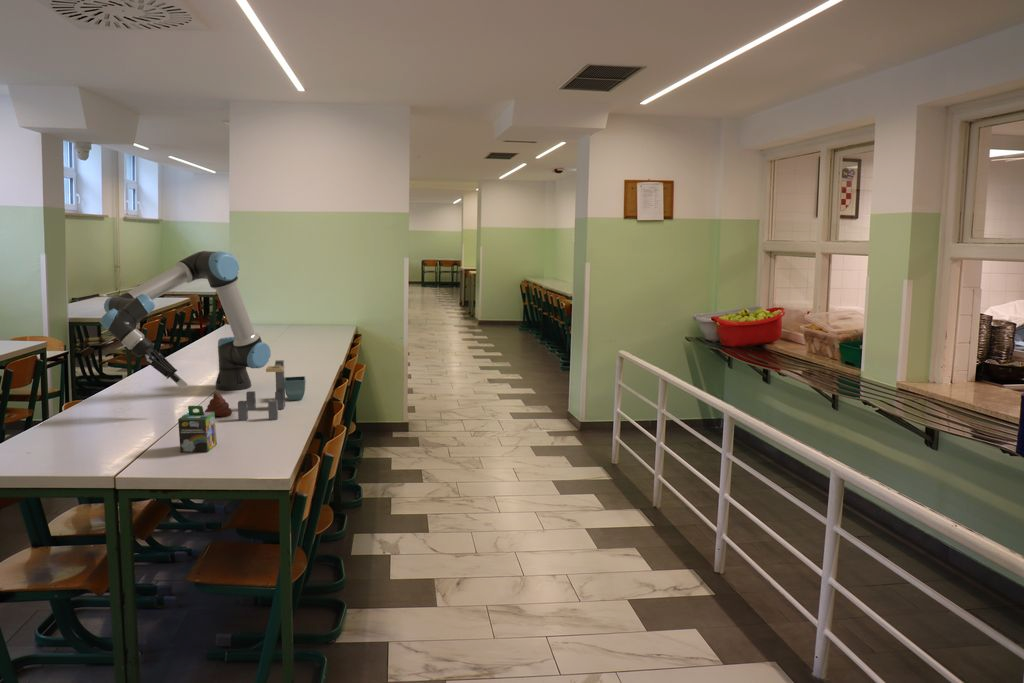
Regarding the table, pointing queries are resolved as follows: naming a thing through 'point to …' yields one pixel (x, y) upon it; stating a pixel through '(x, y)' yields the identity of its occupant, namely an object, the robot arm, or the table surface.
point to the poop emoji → (219, 406)
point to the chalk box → (197, 430)
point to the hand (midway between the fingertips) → (185, 386)
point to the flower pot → (295, 387)
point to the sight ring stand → (278, 375)
